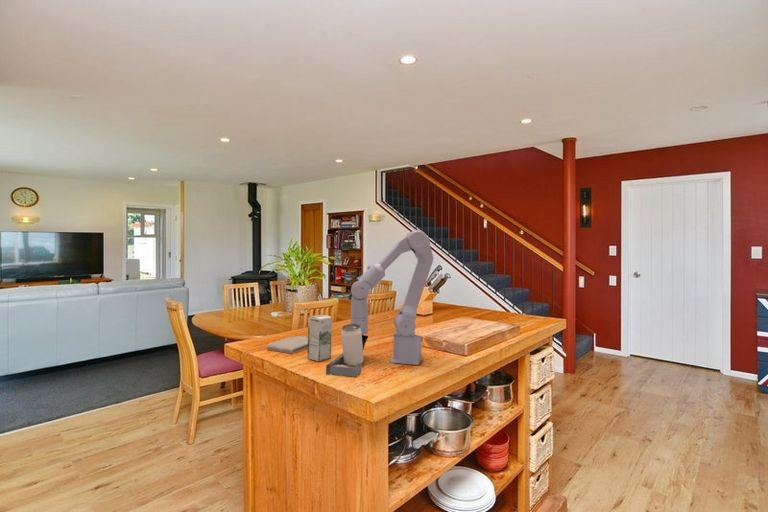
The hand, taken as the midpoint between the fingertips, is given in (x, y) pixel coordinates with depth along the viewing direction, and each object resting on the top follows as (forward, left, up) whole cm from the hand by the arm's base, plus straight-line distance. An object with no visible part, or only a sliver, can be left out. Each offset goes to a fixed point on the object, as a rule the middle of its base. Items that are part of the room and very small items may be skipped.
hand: (358, 357), depth 131 cm
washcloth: (+28, -10, -2) cm, 30 cm away
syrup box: (+13, +2, -1) cm, 14 cm away
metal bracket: (0, +6, -1) cm, 6 cm away
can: (0, +3, -1) cm, 3 cm away
